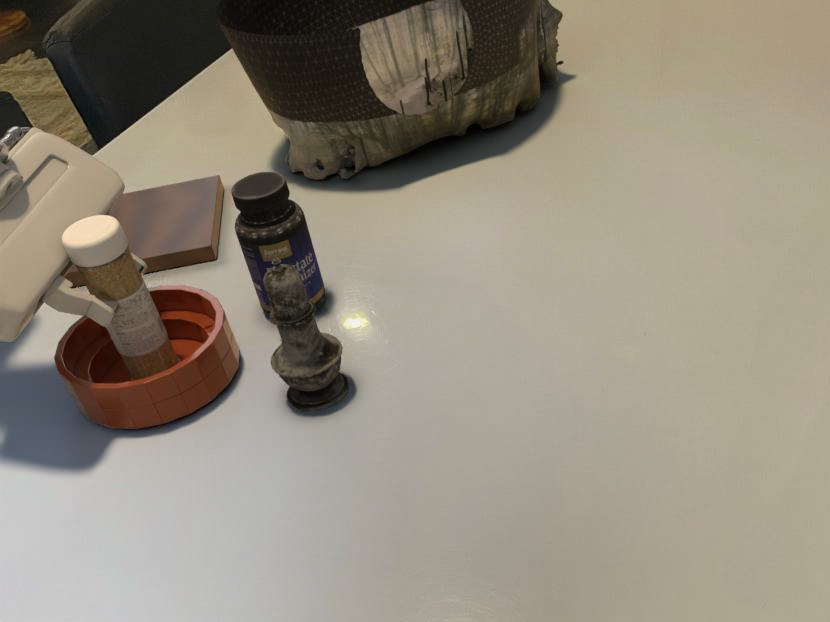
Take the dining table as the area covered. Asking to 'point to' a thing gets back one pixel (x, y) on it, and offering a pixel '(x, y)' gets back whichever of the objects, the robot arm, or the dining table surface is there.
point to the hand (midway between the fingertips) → (128, 296)
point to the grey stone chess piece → (302, 343)
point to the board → (170, 224)
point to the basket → (388, 71)
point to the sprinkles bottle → (121, 294)
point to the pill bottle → (274, 234)
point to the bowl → (163, 392)
